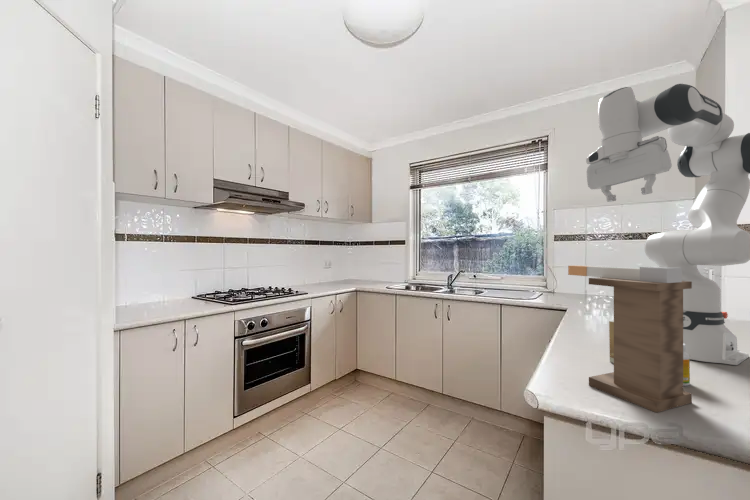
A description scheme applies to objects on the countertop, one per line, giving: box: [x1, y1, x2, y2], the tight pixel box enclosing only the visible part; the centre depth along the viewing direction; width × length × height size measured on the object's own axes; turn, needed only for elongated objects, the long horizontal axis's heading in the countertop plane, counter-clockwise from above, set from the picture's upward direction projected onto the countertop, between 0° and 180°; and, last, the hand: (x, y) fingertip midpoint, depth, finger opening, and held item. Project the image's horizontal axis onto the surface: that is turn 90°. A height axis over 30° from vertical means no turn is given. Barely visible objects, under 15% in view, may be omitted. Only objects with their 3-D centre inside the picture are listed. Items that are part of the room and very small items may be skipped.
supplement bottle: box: [683, 343, 691, 387], centre depth 80 cm, size 5×5×10 cm
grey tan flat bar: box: [567, 264, 682, 283], centre depth 78 cm, size 5×23×3 cm, turn 20°
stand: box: [588, 277, 693, 413], centre depth 73 cm, size 12×14×26 cm
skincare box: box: [608, 320, 614, 364], centre depth 93 cm, size 6×4×12 cm
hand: (628, 197), depth 88 cm, fingers open, 8 cm apart
